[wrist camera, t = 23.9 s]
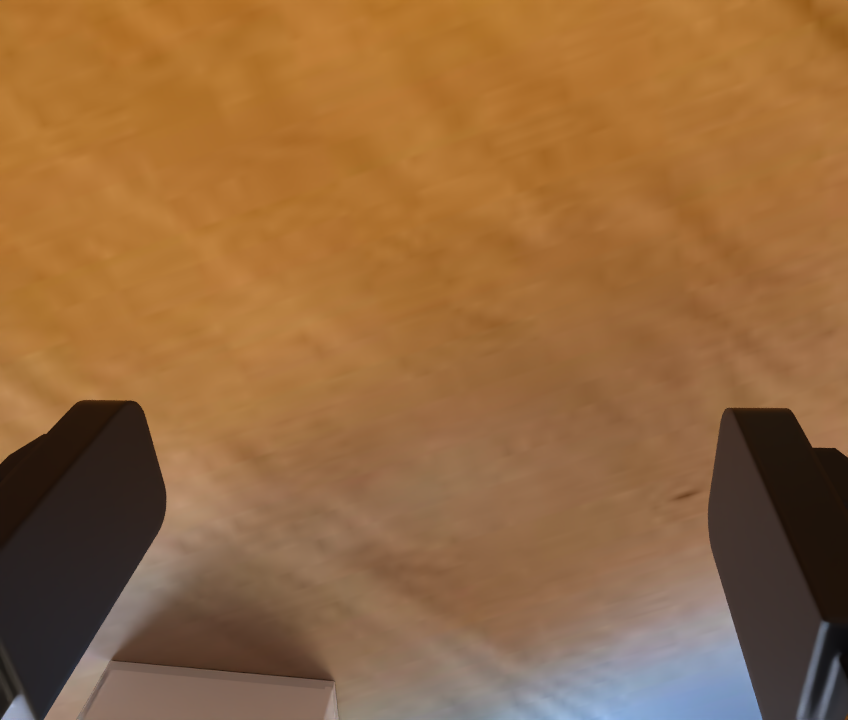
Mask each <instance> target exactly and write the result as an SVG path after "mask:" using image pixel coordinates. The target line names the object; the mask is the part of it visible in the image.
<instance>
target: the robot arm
mask: <svg viewBox="0 0 848 720" xmlns="http://www.w3.org/2000/svg"><path fill="white" fill-rule="evenodd" d="M165 511H166V489H165V484H164V481H163V477H162V474H161V470H160V467H159V463H158V460H157V456H156V452H155V449H154V445H153V442H152V438H151V435H150V431H149V427H148V424H147V420H146V417H145V414H144V411H143V410H142V408H141V406H140V405H139V404H138V403H137V402H135V401H115V400H83V401H79V402H77V403H76V404H75V405H74V406H73V407H72V408H71V409H70V410H69V411H68V412H67V413H66V414H65V415H64V416H63V417H62V418H61V419H60V420H59V421H58V422H57V423H56V424H55V425H54V427H53V428H52V429H51V430H50V431H49V432H48V433H47V434H43V435H41V436H40V437H38V438H37V439H35V440H33V441H32V442H30V443H28V444H27V445H25V446H23V447H22V448H20V449H19V450H17V451H15V452H14V453H12V454H10V455H9V456H8V457H7V458H6V459H5V460H4V461H3V462H2V463H1V464H0V720H44V718H45V716H46V715H47V713H48V711H49V710H50V708H51V707H52V705H53V703H54V702H55V700H56V698H57V697H58V695H59V694H60V692H61V690H62V689H63V687H64V685H65V684H66V682H67V680H68V679H69V677H70V676H71V674H72V672H73V671H74V669H75V667H76V666H77V664H78V663H79V661H80V659H81V658H82V656H83V654H84V653H85V651H86V649H87V648H88V646H89V645H90V643H91V641H92V640H93V638H94V636H95V635H96V633H97V632H98V630H99V628H100V627H101V625H102V623H103V622H104V620H105V618H106V617H107V615H108V614H109V612H110V610H111V609H112V607H113V605H114V604H115V602H116V601H117V599H118V597H119V596H120V594H121V592H122V591H123V589H124V587H125V586H126V584H127V583H128V581H129V579H130V578H131V576H132V574H133V573H134V571H135V570H136V568H137V566H138V565H139V563H140V561H141V560H142V558H143V556H144V555H145V553H146V552H147V550H148V548H149V547H150V545H151V543H152V542H153V540H154V539H155V537H156V535H157V534H158V532H159V530H160V528H161V526H162V523H163V520H164V516H165ZM708 529H709V538H710V544H711V549H712V553H713V556H714V559H715V563H716V566H717V569H718V573H719V576H720V579H721V583H722V586H723V589H724V593H725V596H726V599H727V602H728V606H729V609H730V612H731V616H732V619H733V622H734V626H735V629H736V632H737V636H738V639H739V642H740V646H741V649H742V652H743V656H744V659H745V662H746V666H747V669H748V672H749V676H750V679H751V682H752V686H753V689H754V692H755V696H756V699H757V702H758V705H759V709H760V712H761V715H762V719H763V720H848V458H847V457H846V456H845V455H844V454H842V453H841V452H840V451H838V450H837V449H836V448H812V446H811V444H810V443H809V441H808V439H807V437H806V435H805V434H804V432H803V430H802V428H801V426H800V425H799V423H798V421H797V419H796V417H795V416H794V414H793V412H792V411H791V410H790V409H787V408H727V409H725V411H724V413H723V415H722V419H721V423H720V429H719V436H718V443H717V450H716V456H715V463H714V470H713V477H712V483H711V490H710V497H709V505H708Z"/></svg>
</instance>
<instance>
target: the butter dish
mask: <svg viewBox="0 0 848 720" xmlns="http://www.w3.org/2000/svg"><path fill="white" fill-rule="evenodd" d="M76 720H339V718H338V708H337V699H336V689H335V681H325V680H315V679H304V678H293V677H282V676H271V675H260V674H249V673H238V672H228V671H217V670H206V669H195V668H184V667H173V666H162V665H151V664H140V663H130V662H119V661H110V662H109V664H108V665H107V667H106V669H105V671H104V672H103V674H102V676H101V678H100V679H99V681H98V683H97V685H96V686H95V688H94V690H93V692H92V693H91V695H90V697H89V698H88V700H87V702H86V704H85V705H84V707H83V709H82V711H81V712H80V714H79V716H78V718H77V719H76Z"/></svg>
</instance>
